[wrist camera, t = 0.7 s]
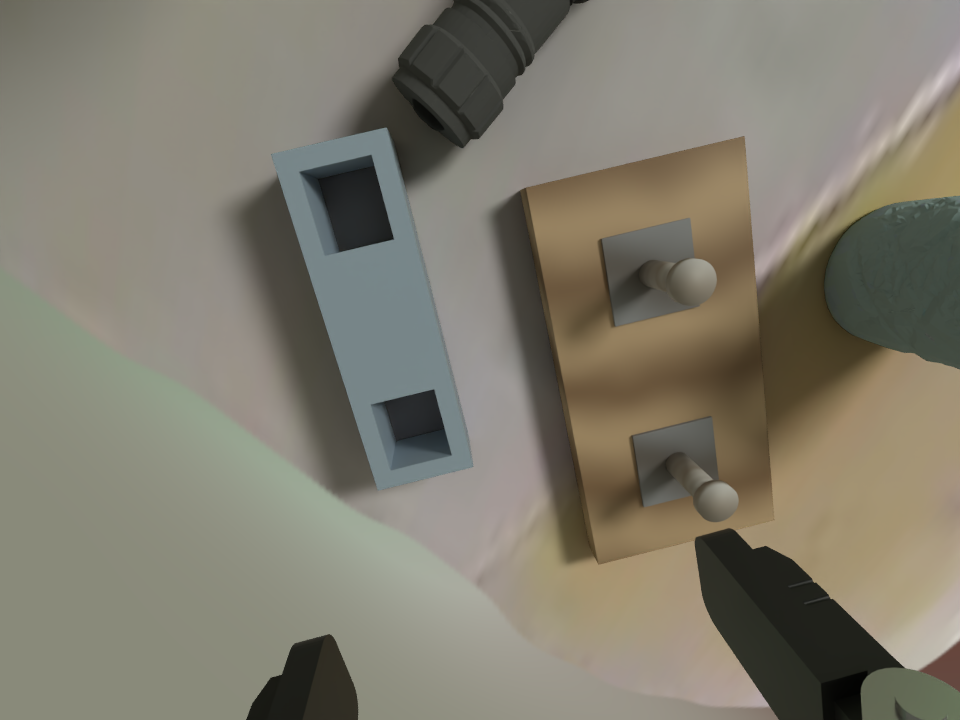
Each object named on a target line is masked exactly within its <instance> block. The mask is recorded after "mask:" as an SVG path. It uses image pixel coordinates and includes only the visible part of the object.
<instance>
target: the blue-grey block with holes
mask: <svg viewBox="0 0 960 720" xmlns="http://www.w3.org/2000/svg"><path fill="white" fill-rule="evenodd" d="M271 156H272V159H273V162H274V165H275V168H276V171H277V175H278V178H279V181H280V184H281V187H282V190H283V194H284V197H285V200H286V203H287V206H288V209H289V212H290V216H291V219H292V222H293V225H294V228H295V231H296V234H297V238H298V241H299V244H300V247H301V250H302V253H303V256H304V260H305V263H306V266H307V269H308V272H309V275H310V278H311V282H312V285H313V288H314V291H315V294H316V297H317V300H318V304H319V307H320V310H321V313H322V316H323V319H324V322H325V326H326V329H327V332H328V335H329V338H330V341H331V344H332V348H333V351H334V354H335V357H336V360H337V363H338V367H339V370H340V373H341V376H342V379H343V382H344V385H345V389H346V392H347V395H348V398H349V401H350V404H351V407H352V411H353V414H354V417H355V420H356V423H357V426H358V429H359V433H360V436H361V439H362V442H363V445H364V448H365V451H366V455H367V458H368V461H369V464H370V467H371V470H372V473H373V477H374V480H375V483H376V486H377V489H378V490H382V489H386V488H390V487H394V486H398V485H403V484H407V483H411V482H415V481H419V480H423V479H427V478H431V477H435V476H439V475H443V474H447V473H451V472H455V471H459V470H463V469H467V468H471V467H473V461H472V454H471V448H470V441H469V436H468V432H467V428H466V424H465V420H464V416H463V412H462V408H461V404H460V400H459V397H458V393H457V389H456V385H455V381H454V377H453V373H452V369H451V365H450V361H449V357H448V353H447V349H446V345H445V341H444V338H443V334H442V330H441V326H440V322H439V318H438V314H437V310H436V306H435V302H434V298H433V294H432V290H431V286H430V282H429V279H428V275H427V271H426V267H425V263H424V259H423V255H422V251H421V247H420V243H419V239H418V235H417V231H416V227H415V224H414V220H413V216H412V212H411V208H410V204H409V200H408V196H407V192H406V188H405V184H404V180H403V176H402V172H401V168H400V165H399V161H398V157H397V153H396V149H395V145H394V141H393V139H392V137H391V135H390V133H389V131H388V129H387V127H386V128H381V129H377V130H373V131H368V132H364V133H360V134H356V135H351V136H347V137H343V138H338V139H334V140H330V141H326V142H321V143H317V144H313V145H308V146H304V147H300V148H295V149H291V150H287V151H283V152H278V153H274V154H271ZM371 166H375V170H376V173H377V177H378V181H379V185H380V188H381V192H382V196H383V199H384V203H385V207H386V211H387V214H388V218H389V222H390V226H391V229H392V233H393V237H394V239H392V240H387V241H383V242H379V243H375V244H371V245H366V246H362V247H358V248H354V249H350V250H345V251H341V252H340V251H339V248H338V244H337V241H336V237H335V234H334V231H333V227H332V224H331V221H330V217H329V214H328V211H327V207H326V204H325V201H324V197H323V194H322V190H321V187H320V184H319V180H318V179H320V178H324V177H329V176H333V175H337V174H341V173H346V172H350V171H354V170H359V169H363V168H367V167H371ZM433 389H434V390H435V394H436V398H437V402H438V405H439V409H440V413H441V417H442V420H443V424H444V428H445V429H443V430H439V431H435V432H431V433H427V434H423V435H419V436H415V437H410V438H406V439H402V440H398V441H396V439H395V436H394V432H393V429H392V425H391V422H390V419H389V415H388V412H387V409H386V405H385V402H384V401H388V400H392V399H396V398H400V397H404V396H408V395H412V394H416V393H421V392H425V391H429V390H433Z"/></svg>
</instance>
